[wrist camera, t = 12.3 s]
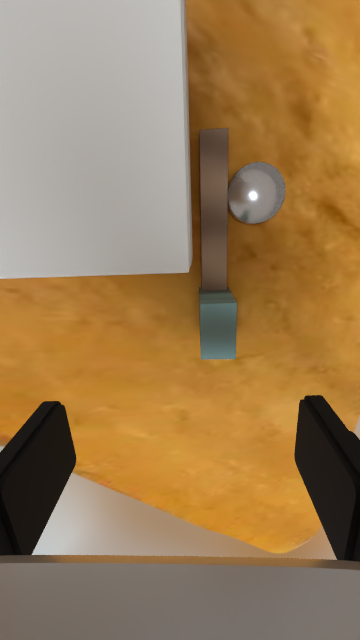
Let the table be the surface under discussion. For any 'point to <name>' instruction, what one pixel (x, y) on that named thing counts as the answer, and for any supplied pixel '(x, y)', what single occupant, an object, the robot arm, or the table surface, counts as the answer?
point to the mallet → (215, 250)
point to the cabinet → (94, 138)
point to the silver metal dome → (256, 193)
